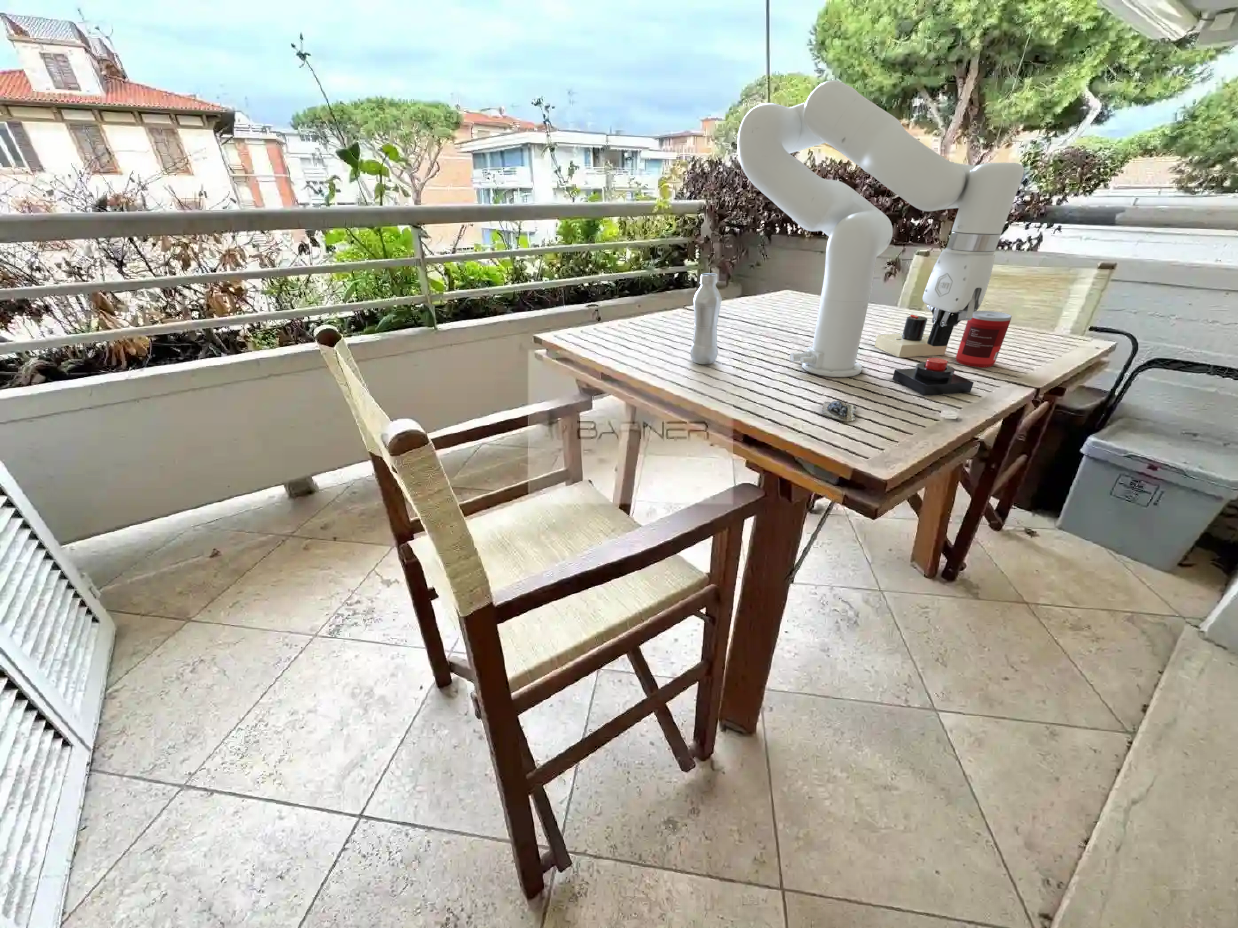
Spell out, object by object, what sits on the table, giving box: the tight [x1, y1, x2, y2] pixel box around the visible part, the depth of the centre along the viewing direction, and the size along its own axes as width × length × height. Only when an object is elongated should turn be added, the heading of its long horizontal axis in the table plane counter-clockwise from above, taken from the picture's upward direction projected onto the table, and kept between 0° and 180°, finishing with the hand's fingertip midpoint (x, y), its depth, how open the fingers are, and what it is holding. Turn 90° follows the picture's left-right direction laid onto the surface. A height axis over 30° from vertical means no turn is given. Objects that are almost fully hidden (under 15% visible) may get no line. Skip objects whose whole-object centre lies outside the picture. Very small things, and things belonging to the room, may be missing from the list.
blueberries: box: [821, 400, 857, 423], centre depth 87 cm, size 7×8×2 cm
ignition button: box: [925, 357, 949, 370], centre depth 97 cm, size 4×4×2 cm
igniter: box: [892, 361, 975, 397], centre depth 98 cm, size 10×10×4 cm
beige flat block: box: [874, 333, 949, 358], centre depth 120 cm, size 12×10×3 cm
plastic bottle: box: [689, 272, 723, 365], centre depth 111 cm, size 6×7×20 cm
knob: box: [901, 314, 928, 341], centre depth 118 cm, size 4×4×5 cm
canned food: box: [955, 310, 1013, 369], centre depth 109 cm, size 8×8×11 cm
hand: (936, 344), depth 96 cm, fingers closed
